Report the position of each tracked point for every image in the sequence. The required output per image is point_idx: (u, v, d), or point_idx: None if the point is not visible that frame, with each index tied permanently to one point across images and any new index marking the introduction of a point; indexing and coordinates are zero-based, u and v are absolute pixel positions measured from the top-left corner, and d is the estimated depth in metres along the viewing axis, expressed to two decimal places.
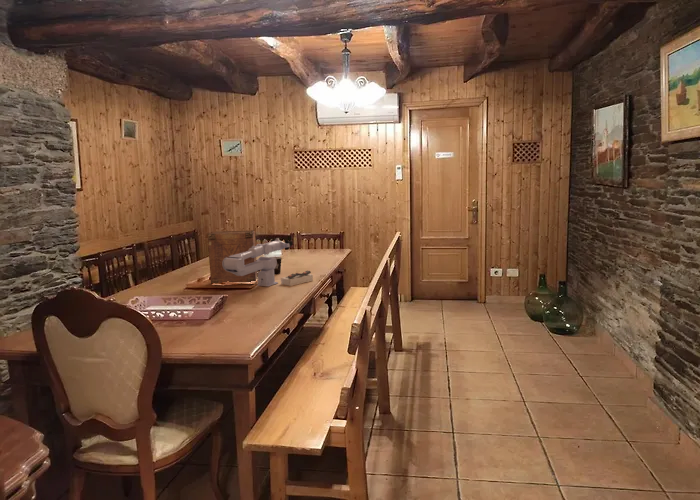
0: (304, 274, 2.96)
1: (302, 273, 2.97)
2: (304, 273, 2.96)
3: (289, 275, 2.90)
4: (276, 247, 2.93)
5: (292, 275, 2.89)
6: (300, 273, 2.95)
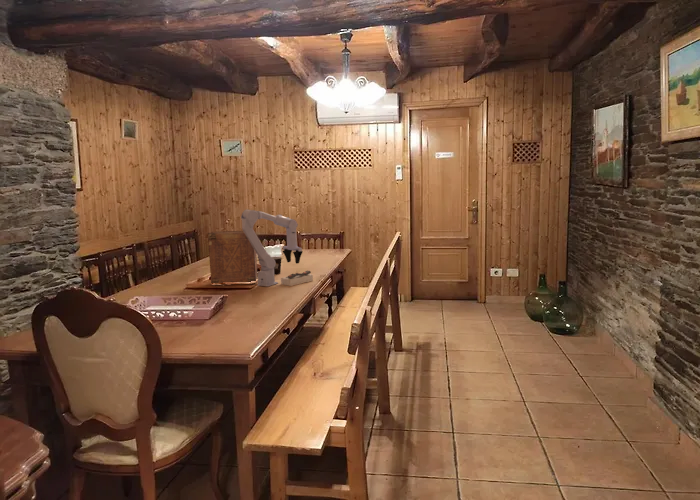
0: (304, 274, 2.96)
1: (302, 273, 2.97)
2: (304, 273, 2.96)
3: (289, 275, 2.90)
4: (293, 239, 2.95)
5: (292, 275, 2.89)
6: (300, 273, 2.95)
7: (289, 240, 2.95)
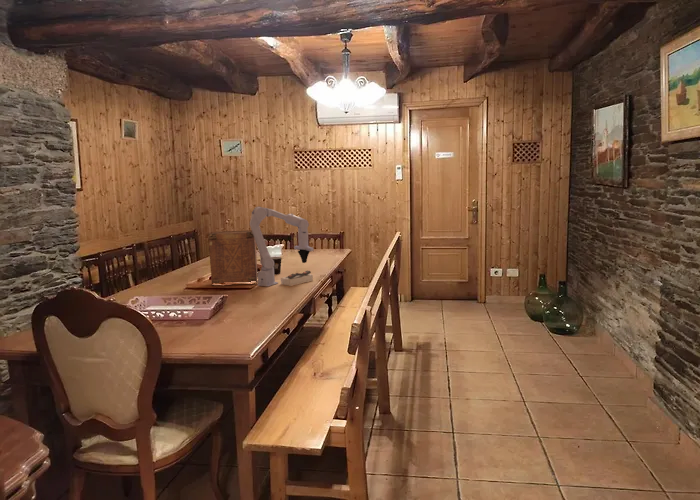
0: (304, 274, 2.96)
1: (302, 273, 2.97)
2: (304, 273, 2.96)
3: (289, 275, 2.90)
4: (303, 239, 2.94)
5: (292, 275, 2.89)
6: (300, 273, 2.95)
7: (301, 240, 2.94)
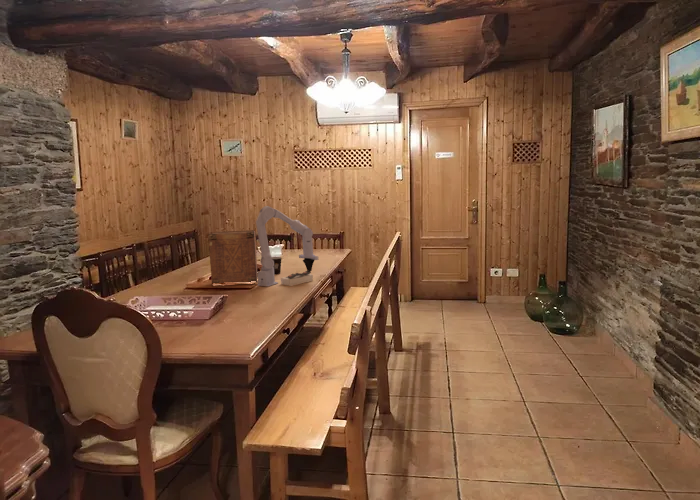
0: (304, 274, 2.96)
1: (302, 273, 2.97)
2: (304, 273, 2.96)
3: (289, 275, 2.90)
4: (308, 248, 2.95)
5: (292, 275, 2.89)
6: (300, 273, 2.95)
7: (305, 249, 2.95)
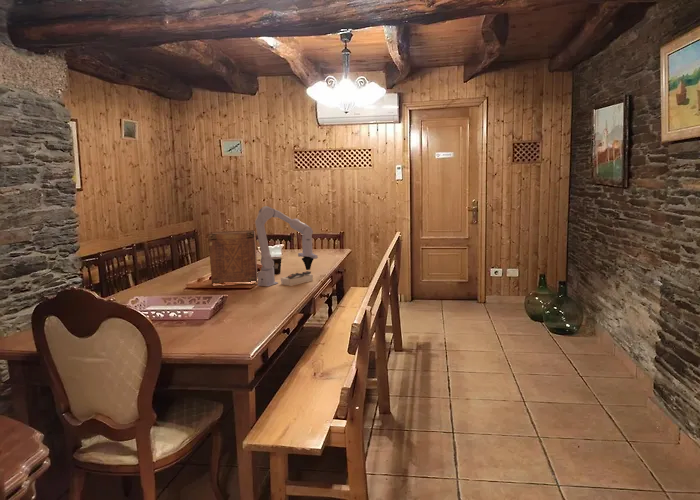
0: (304, 273, 2.96)
1: (302, 272, 2.97)
2: (304, 272, 2.96)
3: (289, 275, 2.90)
4: (307, 246, 2.94)
5: (292, 275, 2.89)
6: (300, 273, 2.95)
7: (305, 247, 2.94)
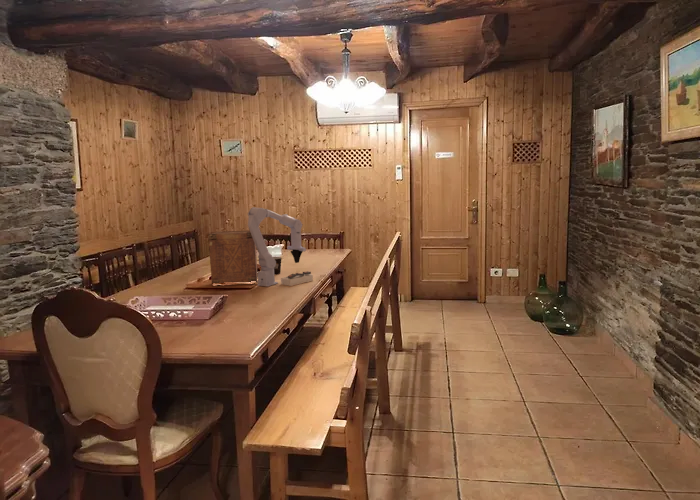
0: (304, 273, 2.96)
1: None
2: (304, 272, 2.96)
3: (289, 275, 2.90)
4: (298, 239, 2.99)
5: (292, 275, 2.89)
6: (300, 273, 2.95)
7: (293, 240, 2.98)
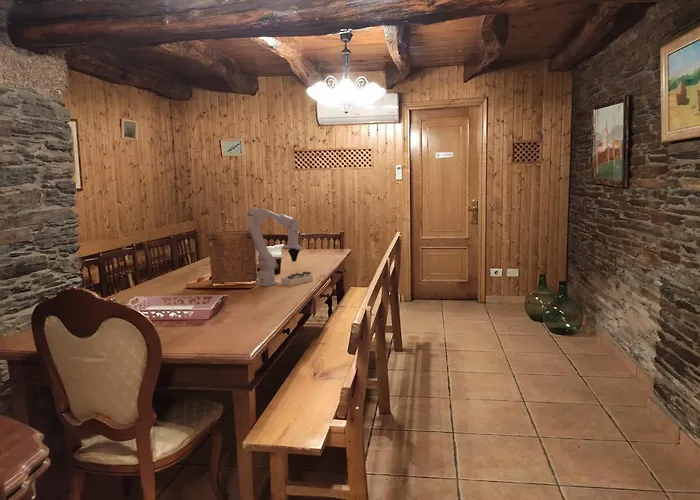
0: (304, 273, 2.97)
1: None
2: (305, 272, 2.96)
3: (289, 275, 2.90)
4: (295, 238, 3.00)
5: (292, 275, 2.89)
6: (300, 273, 2.95)
7: (290, 239, 3.00)
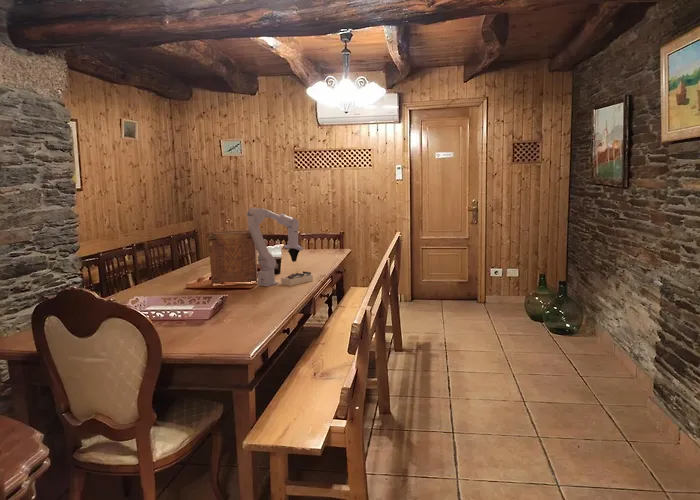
0: (304, 272, 2.97)
1: (303, 271, 2.98)
2: (305, 272, 2.96)
3: (289, 275, 2.90)
4: (295, 238, 3.00)
5: (292, 275, 2.89)
6: (300, 273, 2.95)
7: (290, 239, 3.00)
